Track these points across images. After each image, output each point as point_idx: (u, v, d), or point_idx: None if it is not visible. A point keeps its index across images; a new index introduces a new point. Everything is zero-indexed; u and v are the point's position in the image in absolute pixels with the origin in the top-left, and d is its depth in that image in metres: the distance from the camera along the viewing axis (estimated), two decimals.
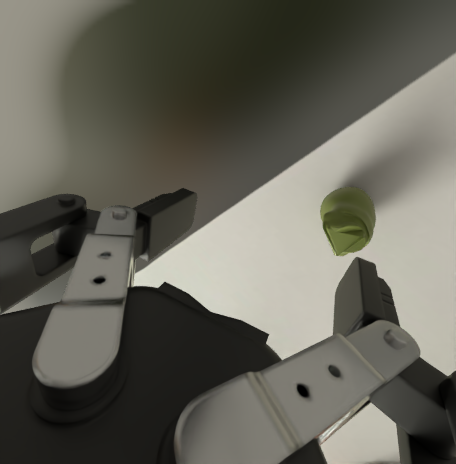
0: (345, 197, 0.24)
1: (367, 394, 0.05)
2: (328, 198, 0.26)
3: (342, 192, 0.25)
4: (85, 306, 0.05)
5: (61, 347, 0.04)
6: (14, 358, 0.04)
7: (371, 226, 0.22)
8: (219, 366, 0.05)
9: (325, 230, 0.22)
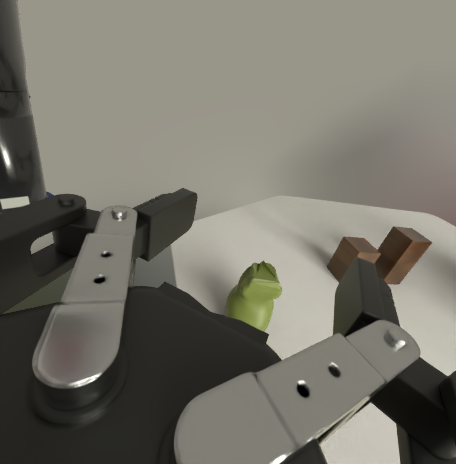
0: (232, 291, 0.29)
1: (367, 394, 0.05)
2: (230, 312, 0.28)
3: (228, 298, 0.29)
4: (85, 306, 0.05)
5: (61, 347, 0.04)
6: (14, 358, 0.04)
7: None
8: (219, 366, 0.05)
9: (255, 282, 0.25)
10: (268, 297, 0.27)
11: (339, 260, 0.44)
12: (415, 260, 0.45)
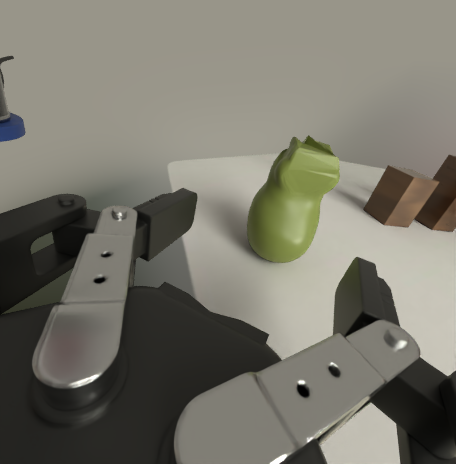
0: (259, 190, 0.19)
1: (367, 394, 0.05)
2: (257, 218, 0.19)
3: (252, 203, 0.20)
4: (85, 306, 0.05)
5: (61, 347, 0.04)
6: (14, 358, 0.04)
7: None
8: (219, 366, 0.05)
9: (301, 153, 0.16)
10: (318, 188, 0.17)
11: (382, 197, 0.35)
12: None
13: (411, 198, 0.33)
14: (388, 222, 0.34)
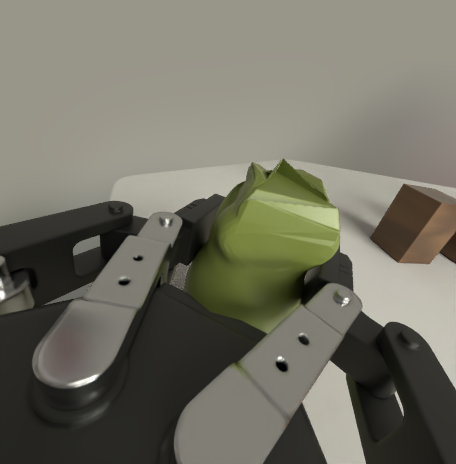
0: (199, 252, 0.11)
1: (333, 352, 0.05)
2: None
3: (188, 271, 0.11)
4: (100, 306, 0.05)
5: (61, 347, 0.04)
6: (5, 368, 0.04)
7: None
8: (219, 366, 0.05)
9: (261, 202, 0.08)
10: (299, 262, 0.09)
11: (396, 225, 0.27)
12: None
13: (436, 229, 0.24)
14: (403, 259, 0.26)
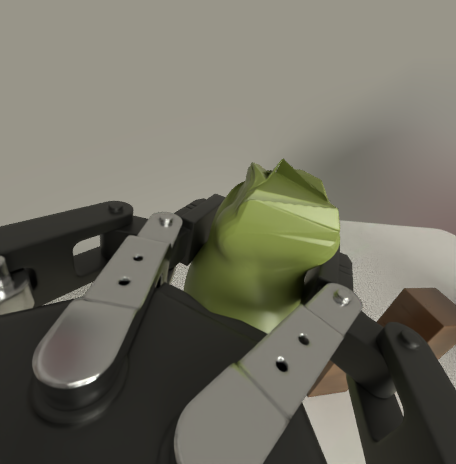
0: (199, 252, 0.11)
1: (333, 352, 0.05)
2: None
3: (188, 272, 0.11)
4: (100, 306, 0.05)
5: (61, 347, 0.04)
6: (5, 368, 0.04)
7: None
8: (219, 366, 0.05)
9: (260, 202, 0.08)
10: (299, 262, 0.09)
11: None
12: (444, 350, 0.24)
13: (342, 371, 0.22)
14: (313, 394, 0.24)
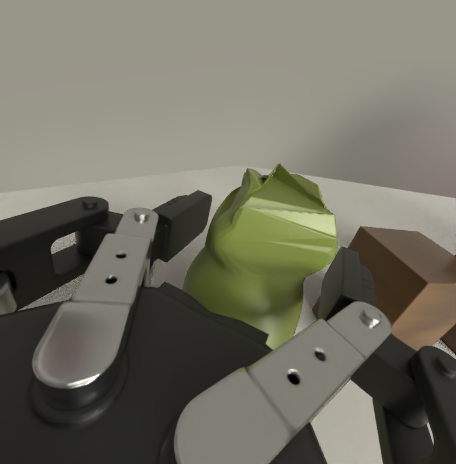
0: (196, 258, 0.11)
1: (351, 373, 0.05)
2: None
3: (185, 278, 0.11)
4: (92, 306, 0.05)
5: (61, 347, 0.04)
6: (11, 363, 0.04)
7: None
8: (219, 366, 0.05)
9: (255, 210, 0.07)
10: (296, 268, 0.09)
11: None
12: None
13: (419, 323, 0.12)
14: None
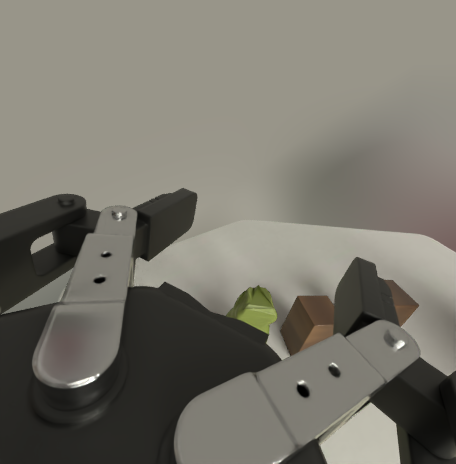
0: (228, 315, 0.29)
1: (367, 394, 0.05)
2: None
3: None
4: (85, 306, 0.05)
5: (61, 347, 0.04)
6: (14, 358, 0.04)
7: None
8: (219, 366, 0.05)
9: (249, 308, 0.25)
10: (264, 322, 0.27)
11: (292, 328, 0.32)
12: None
13: (318, 339, 0.30)
14: None
